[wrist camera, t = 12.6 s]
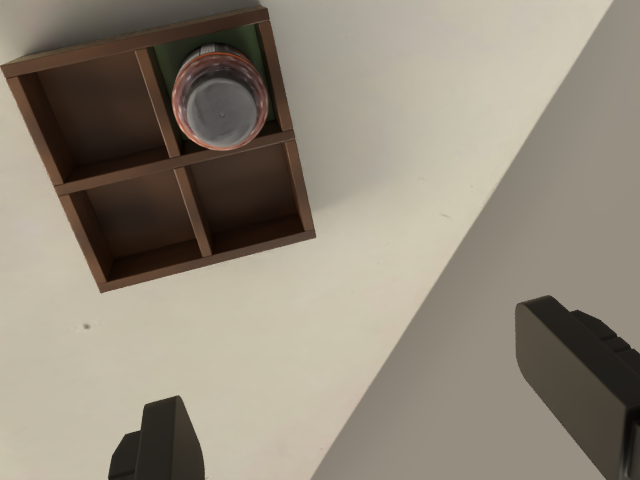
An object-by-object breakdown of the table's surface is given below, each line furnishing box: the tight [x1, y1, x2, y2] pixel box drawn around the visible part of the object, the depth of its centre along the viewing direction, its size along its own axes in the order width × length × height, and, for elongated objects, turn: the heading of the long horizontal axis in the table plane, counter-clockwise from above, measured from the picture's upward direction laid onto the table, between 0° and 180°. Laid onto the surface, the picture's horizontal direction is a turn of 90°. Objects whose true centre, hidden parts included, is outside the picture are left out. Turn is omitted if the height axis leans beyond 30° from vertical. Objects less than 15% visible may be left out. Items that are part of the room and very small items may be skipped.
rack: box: [0, 5, 316, 293], centre depth 41 cm, size 17×17×5 cm
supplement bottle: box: [172, 42, 268, 151], centre depth 36 cm, size 6×6×11 cm
